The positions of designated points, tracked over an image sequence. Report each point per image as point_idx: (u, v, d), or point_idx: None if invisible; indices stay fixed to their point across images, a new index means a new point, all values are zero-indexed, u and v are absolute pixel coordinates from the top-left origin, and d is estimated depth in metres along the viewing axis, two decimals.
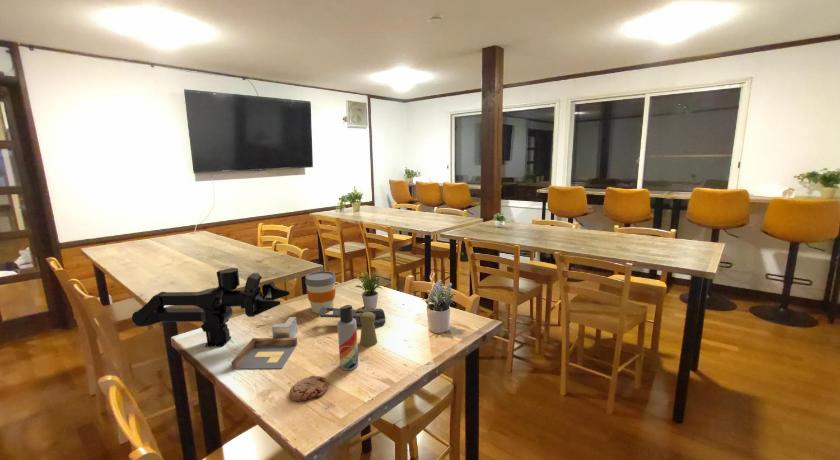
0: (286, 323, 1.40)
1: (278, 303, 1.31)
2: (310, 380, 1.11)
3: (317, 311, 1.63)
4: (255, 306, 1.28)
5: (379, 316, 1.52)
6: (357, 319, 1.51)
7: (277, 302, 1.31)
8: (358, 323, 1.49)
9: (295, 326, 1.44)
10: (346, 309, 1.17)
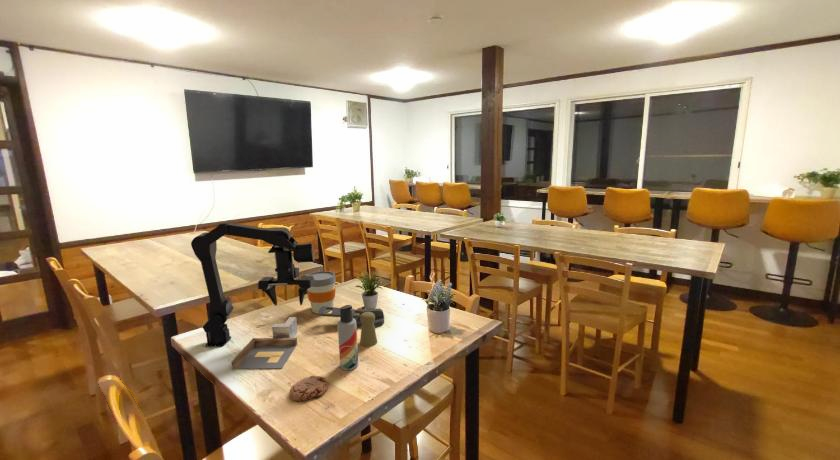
0: (286, 323, 1.40)
1: None
2: (310, 380, 1.11)
3: (317, 311, 1.63)
4: None
5: (378, 316, 1.52)
6: (356, 319, 1.52)
7: (302, 302, 1.41)
8: (357, 323, 1.49)
9: (295, 326, 1.44)
10: (346, 309, 1.17)
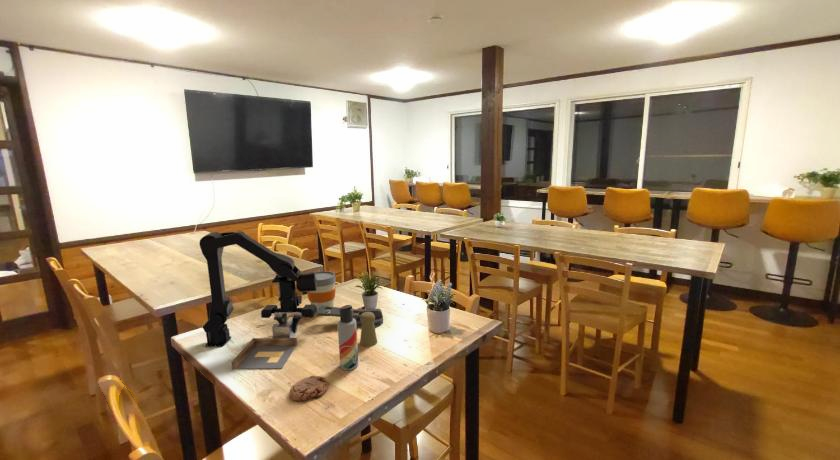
0: (286, 323, 1.40)
1: (295, 331, 1.43)
2: (310, 380, 1.11)
3: None
4: None
5: (377, 316, 1.52)
6: (354, 318, 1.52)
7: None
8: None
9: None
10: (346, 309, 1.17)
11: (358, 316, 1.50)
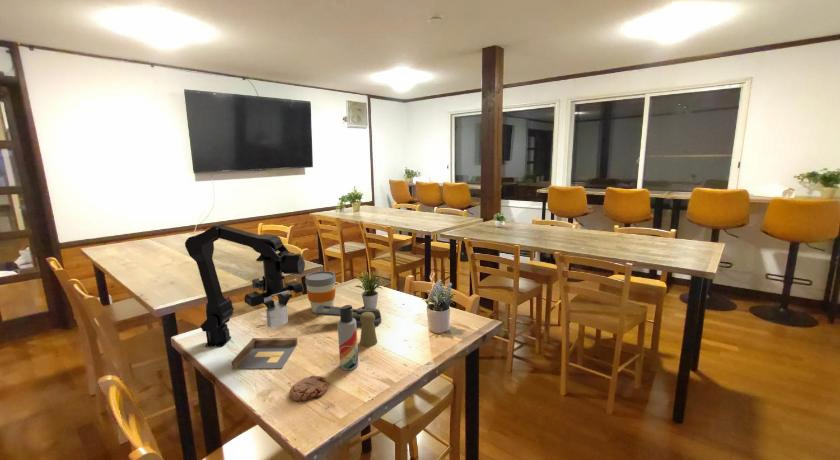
0: (277, 305, 1.32)
1: None
2: (310, 380, 1.11)
3: None
4: None
5: (375, 316, 1.52)
6: None
7: None
8: None
9: None
10: (346, 309, 1.17)
11: (356, 316, 1.50)
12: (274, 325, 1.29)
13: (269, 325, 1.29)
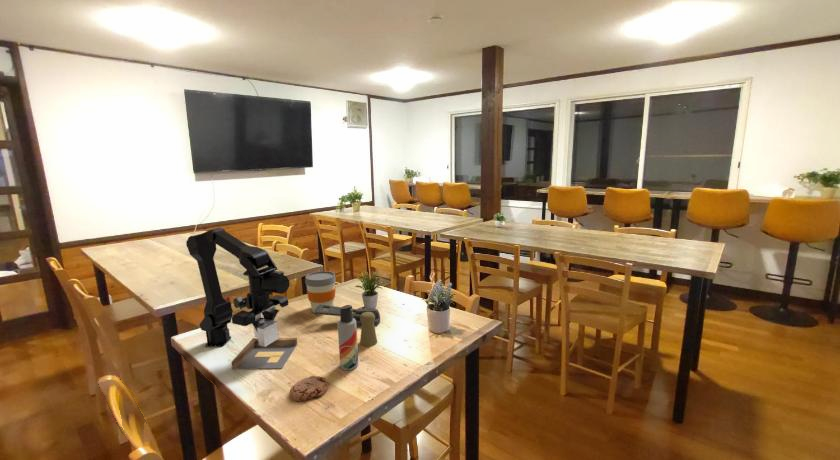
0: (267, 322, 1.26)
1: None
2: (310, 380, 1.11)
3: None
4: None
5: None
6: None
7: None
8: None
9: None
10: (346, 309, 1.17)
11: (355, 316, 1.50)
12: (267, 343, 1.23)
13: (261, 344, 1.23)
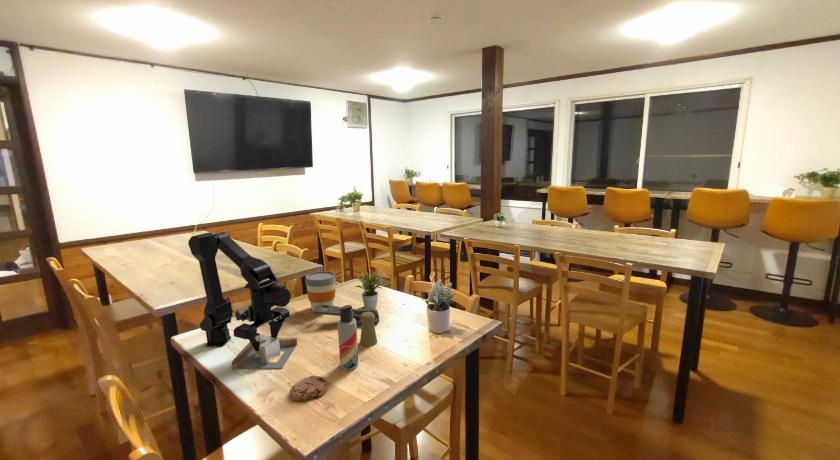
0: (268, 339, 1.27)
1: None
2: (310, 380, 1.11)
3: None
4: None
5: None
6: None
7: None
8: None
9: None
10: (346, 309, 1.17)
11: (354, 315, 1.50)
12: (269, 360, 1.24)
13: (263, 361, 1.24)
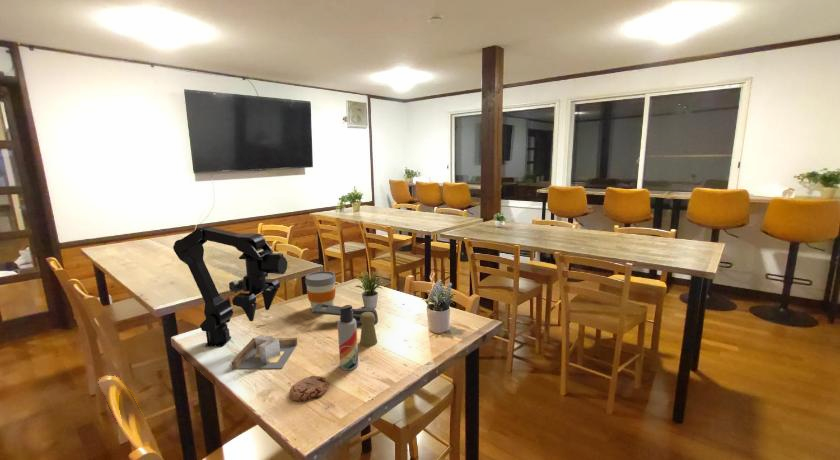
0: (268, 339, 1.27)
1: None
2: (310, 380, 1.11)
3: None
4: None
5: None
6: None
7: None
8: None
9: None
10: (346, 309, 1.17)
11: None
12: (269, 360, 1.24)
13: (263, 361, 1.24)
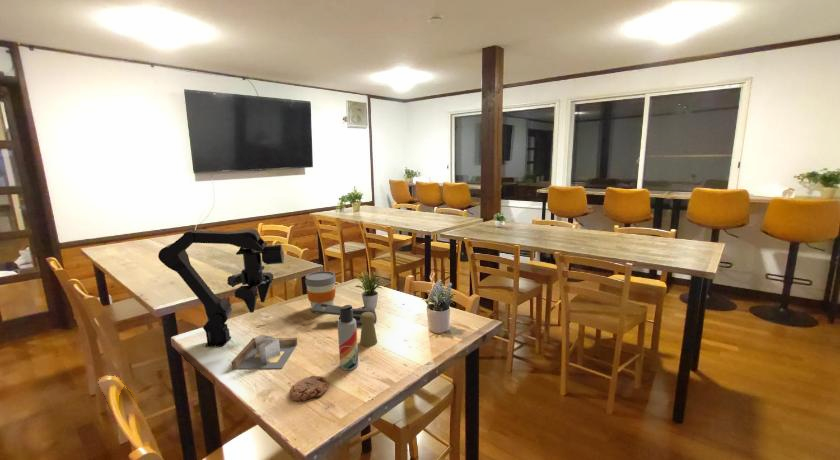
0: (268, 339, 1.27)
1: None
2: (310, 380, 1.11)
3: None
4: None
5: None
6: None
7: None
8: None
9: None
10: (346, 309, 1.17)
11: None
12: (269, 360, 1.24)
13: (263, 361, 1.24)
